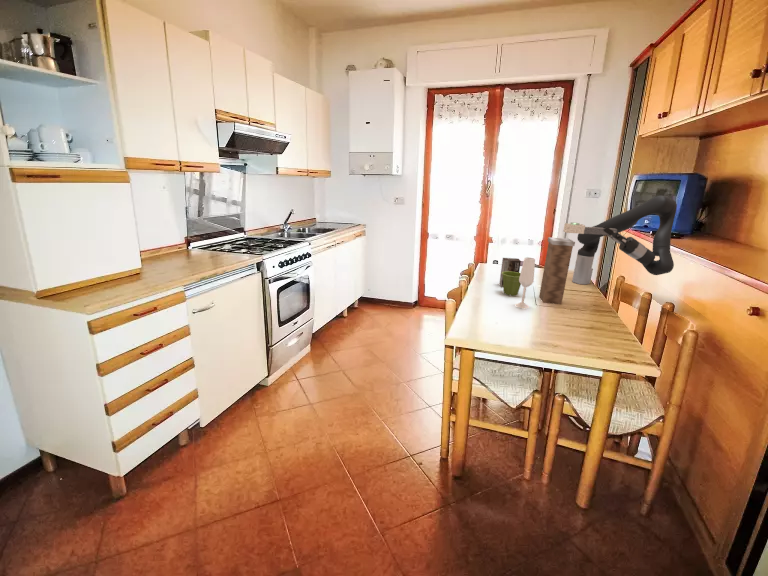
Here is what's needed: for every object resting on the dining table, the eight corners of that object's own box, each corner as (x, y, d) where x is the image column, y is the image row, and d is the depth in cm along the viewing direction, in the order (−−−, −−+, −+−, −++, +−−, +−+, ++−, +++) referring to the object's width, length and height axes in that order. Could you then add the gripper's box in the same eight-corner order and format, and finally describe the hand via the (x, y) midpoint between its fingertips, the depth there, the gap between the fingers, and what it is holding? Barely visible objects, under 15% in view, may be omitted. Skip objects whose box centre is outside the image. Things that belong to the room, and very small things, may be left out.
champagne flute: (512, 305, 188) (519, 258, 180) (518, 302, 192) (525, 256, 185) (525, 309, 183) (533, 260, 176) (531, 306, 188) (539, 258, 181)
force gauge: (612, 234, 187) (614, 225, 185) (616, 236, 182) (619, 226, 180) (563, 231, 190) (564, 221, 188) (566, 232, 185) (567, 223, 184)
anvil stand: (557, 298, 202) (568, 238, 193) (562, 304, 193) (575, 242, 183) (537, 296, 204) (548, 237, 194) (542, 302, 194) (553, 240, 185)
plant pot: (525, 294, 207) (528, 274, 203) (515, 298, 198) (519, 278, 195) (505, 289, 214) (508, 269, 211) (495, 293, 206) (497, 273, 203)
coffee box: (514, 285, 223) (518, 258, 218) (517, 288, 217) (521, 260, 212) (498, 284, 224) (502, 257, 219) (500, 287, 218) (504, 259, 213)
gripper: (632, 239, 190) (603, 220, 189) (645, 244, 177) (615, 223, 176) (621, 251, 192) (593, 232, 192) (633, 257, 179) (603, 236, 179)
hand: (603, 228), depth 184 cm, fingers closed on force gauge, 3 cm apart
